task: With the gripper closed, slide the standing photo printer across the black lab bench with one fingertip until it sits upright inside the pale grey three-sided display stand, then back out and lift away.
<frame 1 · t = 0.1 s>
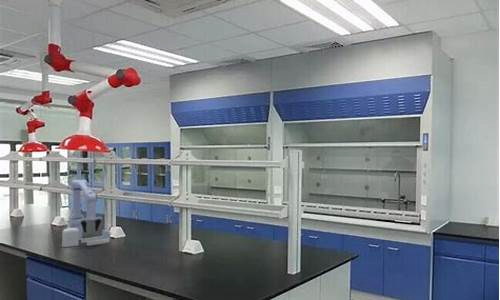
hand: (90, 231, 257), 10 cm above the lab bench, tool pointing down, fingers open, 7 cm apart
photo printer: (70, 246, 258), on the lab bench
display stand: (95, 242, 269), on the lab bench
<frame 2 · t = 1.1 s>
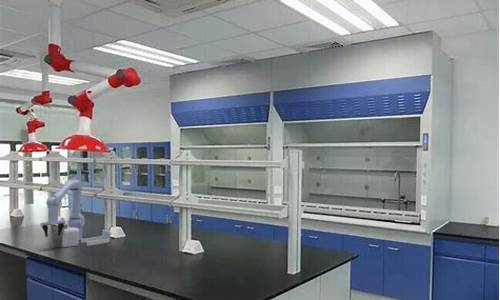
hand: (52, 236, 250), 9 cm above the lab bench, tool pointing down, fingers open, 7 cm apart
nothing on the lab bench moved.
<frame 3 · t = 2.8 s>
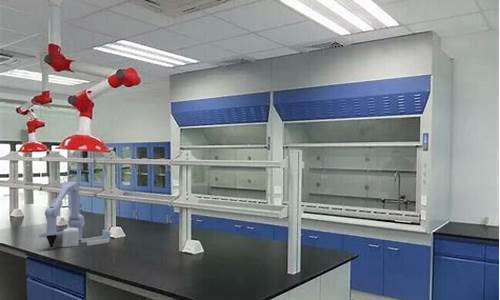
hand: (51, 247, 249), 1 cm above the lab bench, tool pointing down, fingers closed
nothing on the lab bench moved.
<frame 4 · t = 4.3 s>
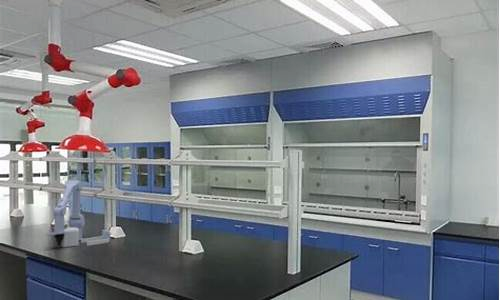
hand: (59, 245, 253), 1 cm above the lab bench, tool pointing down, fingers closed
photo printer: (70, 246, 258), on the lab bench, touching gripper
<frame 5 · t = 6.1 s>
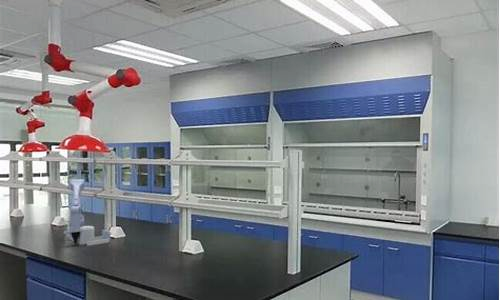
hand: (75, 243, 260), 1 cm above the lab bench, tool pointing down, fingers closed
photo printer: (86, 244, 265), on the lab bench, touching gripper
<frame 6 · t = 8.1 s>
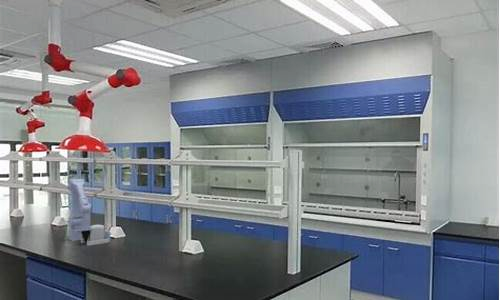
hand: (85, 241, 264), 1 cm above the lab bench, tool pointing down, fingers closed
photo printer: (96, 242, 269), on the lab bench, touching gripper
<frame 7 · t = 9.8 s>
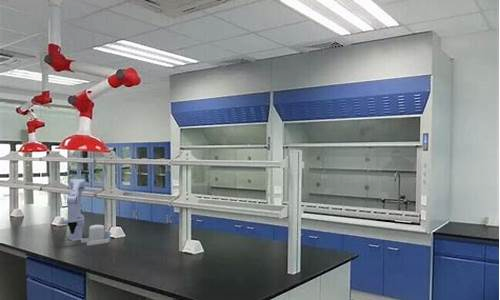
hand: (72, 233, 258), 8 cm above the lab bench, tool pointing down, fingers closed
photo printer: (96, 242, 269), on the lab bench
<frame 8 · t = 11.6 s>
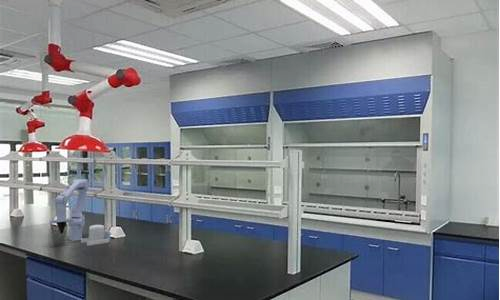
hand: (61, 233, 259), 8 cm above the lab bench, tool pointing down, fingers closed
nothing on the lab bench moved.
at the end: photo printer 1.1 cm off-centre on the display stand, point 0.0 cm above the display stand's base; photo printer tilted 0°; photo printer moved 17.4 cm from its start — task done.
